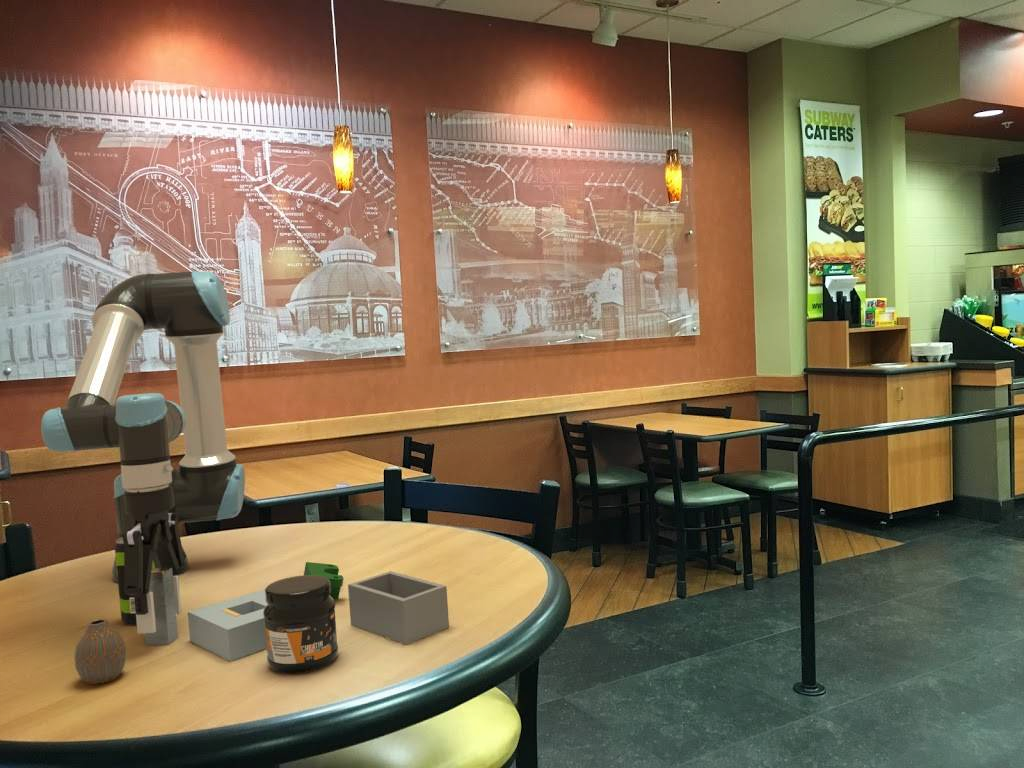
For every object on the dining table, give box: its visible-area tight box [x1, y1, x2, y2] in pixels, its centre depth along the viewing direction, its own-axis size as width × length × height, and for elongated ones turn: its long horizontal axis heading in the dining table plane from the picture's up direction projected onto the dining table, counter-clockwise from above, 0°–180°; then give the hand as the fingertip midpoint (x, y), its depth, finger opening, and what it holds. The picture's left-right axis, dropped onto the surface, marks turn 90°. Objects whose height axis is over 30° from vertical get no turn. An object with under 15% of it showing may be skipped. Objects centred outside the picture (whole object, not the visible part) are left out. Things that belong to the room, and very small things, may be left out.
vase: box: [73, 618, 127, 685], centre depth 121 cm, size 7×7×9 cm
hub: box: [187, 588, 267, 662], centre depth 135 cm, size 14×14×5 cm
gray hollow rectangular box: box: [347, 570, 450, 646], centre depth 136 cm, size 15×9×7 cm, turn 46°
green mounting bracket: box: [303, 561, 344, 601], centre depth 154 cm, size 12×6×9 cm, turn 13°
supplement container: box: [263, 574, 339, 675], centre depth 123 cm, size 10×10×12 cm
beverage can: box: [114, 538, 155, 626], centre depth 147 cm, size 6×6×15 cm
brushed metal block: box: [143, 568, 179, 646], centre depth 135 cm, size 4×3×12 cm
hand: (160, 622), depth 135 cm, fingers open, 8 cm apart
